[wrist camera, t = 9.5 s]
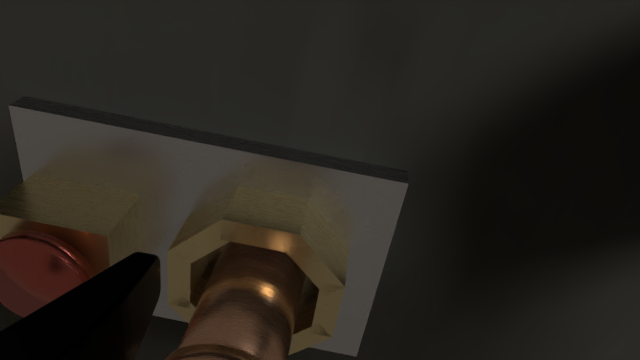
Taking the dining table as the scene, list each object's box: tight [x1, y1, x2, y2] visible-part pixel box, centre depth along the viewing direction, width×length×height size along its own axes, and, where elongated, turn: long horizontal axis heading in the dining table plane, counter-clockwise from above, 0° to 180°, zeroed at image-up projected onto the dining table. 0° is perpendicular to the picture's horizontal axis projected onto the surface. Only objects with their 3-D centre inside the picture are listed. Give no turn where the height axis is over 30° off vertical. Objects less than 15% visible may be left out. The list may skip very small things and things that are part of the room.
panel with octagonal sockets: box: [0, 97, 409, 357], centre depth 22 cm, size 17×11×5 cm, turn 81°
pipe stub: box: [164, 241, 305, 360], centre depth 19 cm, size 5×5×8 cm
